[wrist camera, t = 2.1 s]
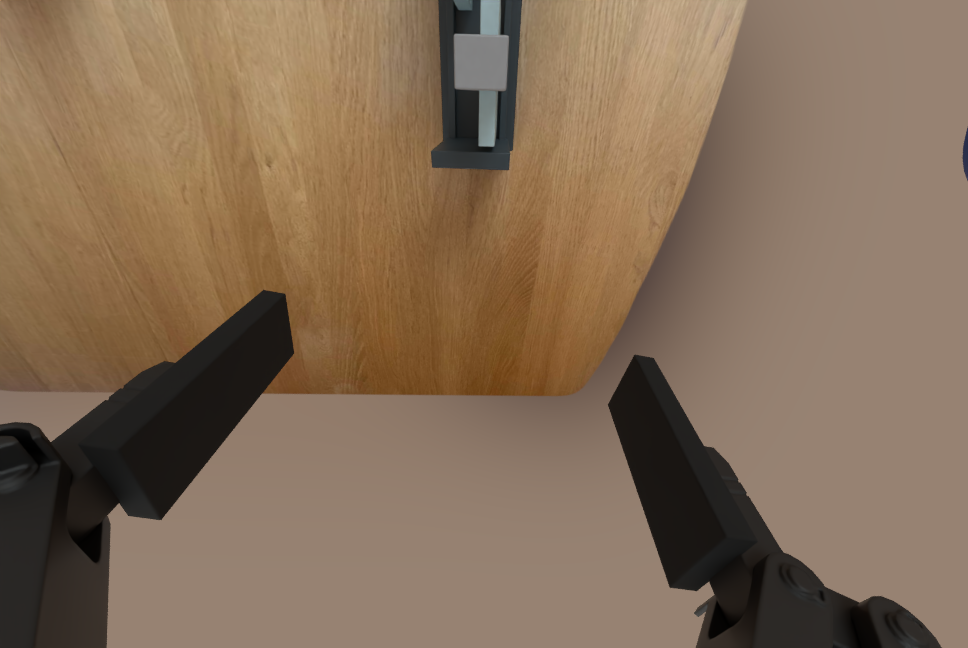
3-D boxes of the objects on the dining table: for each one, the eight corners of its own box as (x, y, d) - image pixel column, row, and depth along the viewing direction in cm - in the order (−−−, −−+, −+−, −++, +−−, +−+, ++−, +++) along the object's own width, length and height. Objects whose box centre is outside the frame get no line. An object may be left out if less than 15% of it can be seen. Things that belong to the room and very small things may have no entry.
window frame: (532, -173, 26) (550, -341, 16) (511, 149, 37) (515, 170, 27) (436, -174, 26) (394, -341, 16) (446, 147, 38) (425, 167, 28)
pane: (508, 13, 30) (515, -86, 13) (502, 134, 35) (502, 172, 18) (479, 12, 30) (451, -87, 13) (477, 133, 35) (455, 170, 18)
